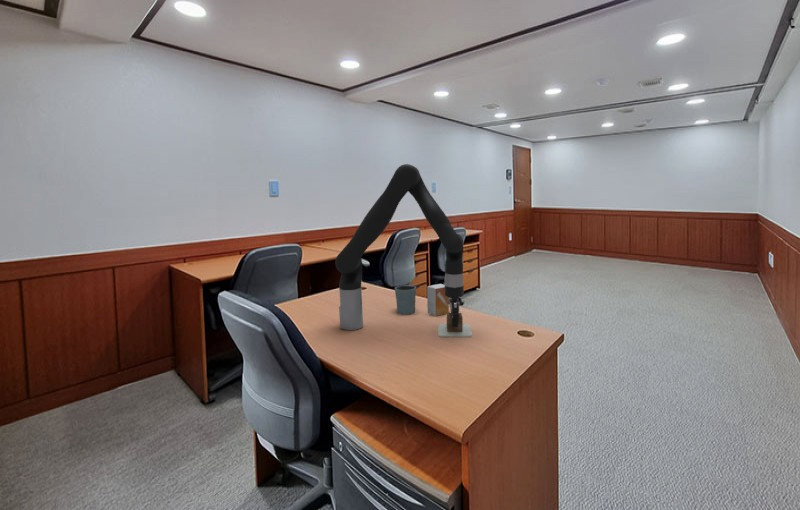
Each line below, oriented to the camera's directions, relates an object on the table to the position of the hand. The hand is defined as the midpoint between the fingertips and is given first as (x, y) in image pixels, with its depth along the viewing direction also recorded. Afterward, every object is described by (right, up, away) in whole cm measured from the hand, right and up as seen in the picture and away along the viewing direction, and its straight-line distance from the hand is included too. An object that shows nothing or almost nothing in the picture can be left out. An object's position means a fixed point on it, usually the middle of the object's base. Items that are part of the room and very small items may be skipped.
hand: (454, 323), depth 153 cm
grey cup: (-19, 0, +27) cm, 33 cm away
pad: (0, -3, +1) cm, 3 cm away
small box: (-4, 0, +24) cm, 24 cm away
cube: (0, -3, 0) cm, 3 cm away
